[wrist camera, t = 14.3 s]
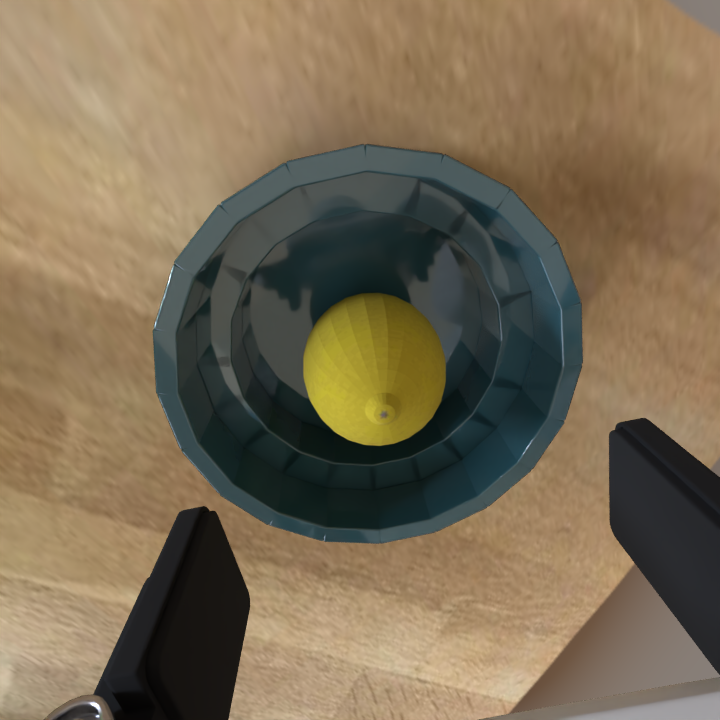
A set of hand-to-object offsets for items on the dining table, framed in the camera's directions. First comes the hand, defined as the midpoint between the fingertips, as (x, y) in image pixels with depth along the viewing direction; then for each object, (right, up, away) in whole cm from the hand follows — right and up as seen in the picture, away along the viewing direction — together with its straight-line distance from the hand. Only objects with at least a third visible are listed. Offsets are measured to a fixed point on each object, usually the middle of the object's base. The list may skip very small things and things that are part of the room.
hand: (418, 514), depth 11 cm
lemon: (-1, +5, +12) cm, 13 cm away
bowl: (-1, +5, +12) cm, 13 cm away
